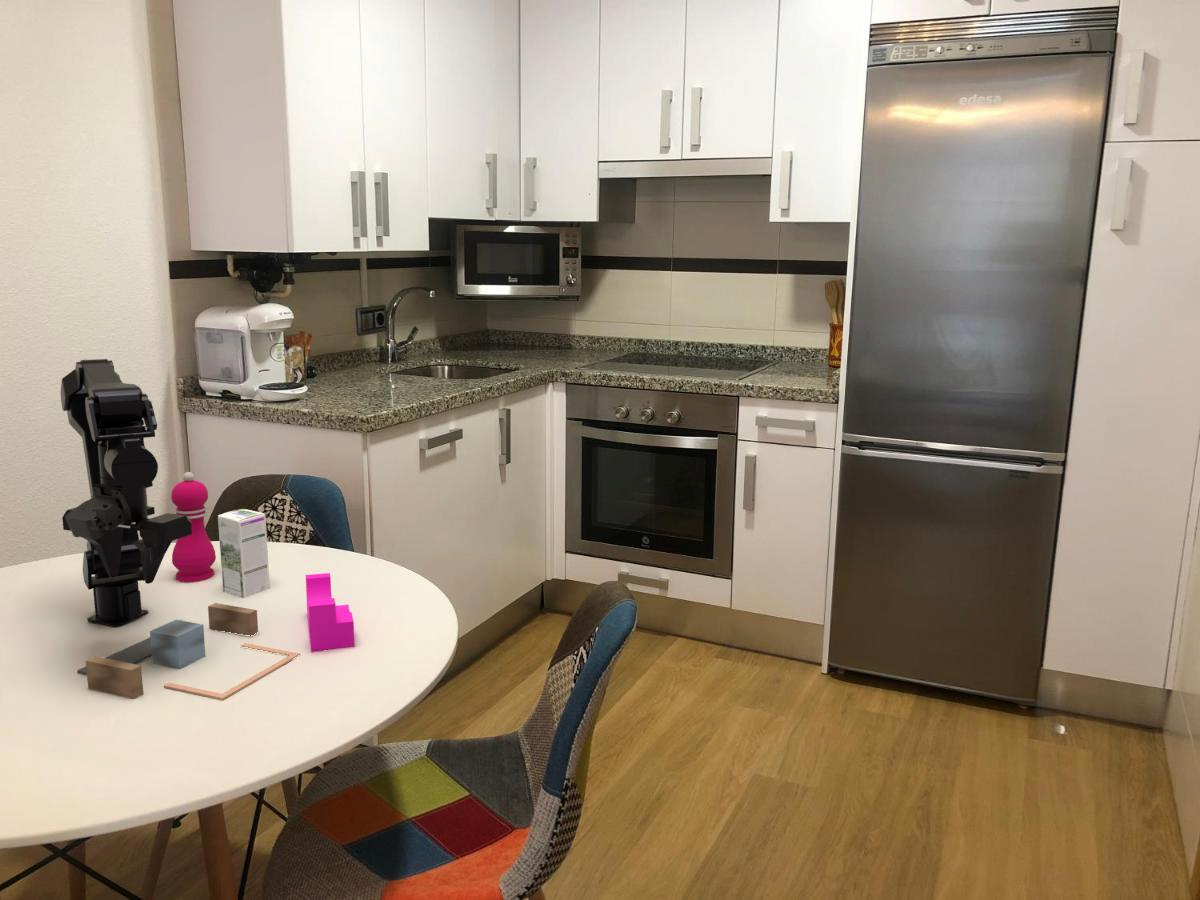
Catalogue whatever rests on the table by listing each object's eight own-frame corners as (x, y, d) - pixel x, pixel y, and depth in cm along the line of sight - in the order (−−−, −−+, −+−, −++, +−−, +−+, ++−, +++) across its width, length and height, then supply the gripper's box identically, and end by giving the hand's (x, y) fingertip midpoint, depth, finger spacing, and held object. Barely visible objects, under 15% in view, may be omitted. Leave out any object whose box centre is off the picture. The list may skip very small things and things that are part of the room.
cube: (152, 664, 140) (149, 631, 139) (178, 651, 144) (176, 619, 143) (179, 669, 138) (177, 636, 137) (205, 656, 143) (203, 624, 142)
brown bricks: (88, 688, 131) (85, 660, 131) (216, 627, 154) (215, 602, 153) (133, 698, 129) (131, 670, 128) (258, 634, 151) (256, 610, 150)
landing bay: (163, 687, 132) (163, 685, 132) (245, 645, 147) (245, 643, 147) (223, 700, 129) (222, 698, 129) (300, 655, 143) (300, 653, 143)
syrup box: (271, 593, 169) (267, 512, 167) (243, 602, 165) (238, 519, 162) (250, 586, 172) (245, 507, 170) (221, 596, 168) (216, 514, 165)
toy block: (354, 650, 146) (352, 602, 145) (311, 654, 144) (309, 606, 143) (347, 615, 160) (345, 571, 159) (307, 619, 158) (305, 574, 157)
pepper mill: (207, 588, 171) (200, 477, 167) (166, 587, 171) (158, 476, 167) (223, 575, 178) (217, 468, 174) (184, 574, 178) (176, 467, 175)
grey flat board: (77, 673, 136) (76, 670, 136) (174, 628, 153) (174, 626, 153) (104, 678, 134) (104, 676, 134) (199, 633, 151) (199, 631, 151)
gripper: (24, 480, 135) (34, 588, 138) (128, 494, 128) (137, 606, 131) (91, 465, 145) (99, 565, 148) (191, 476, 138) (198, 581, 142)
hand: (131, 579), depth 142 cm, fingers open, 6 cm apart
